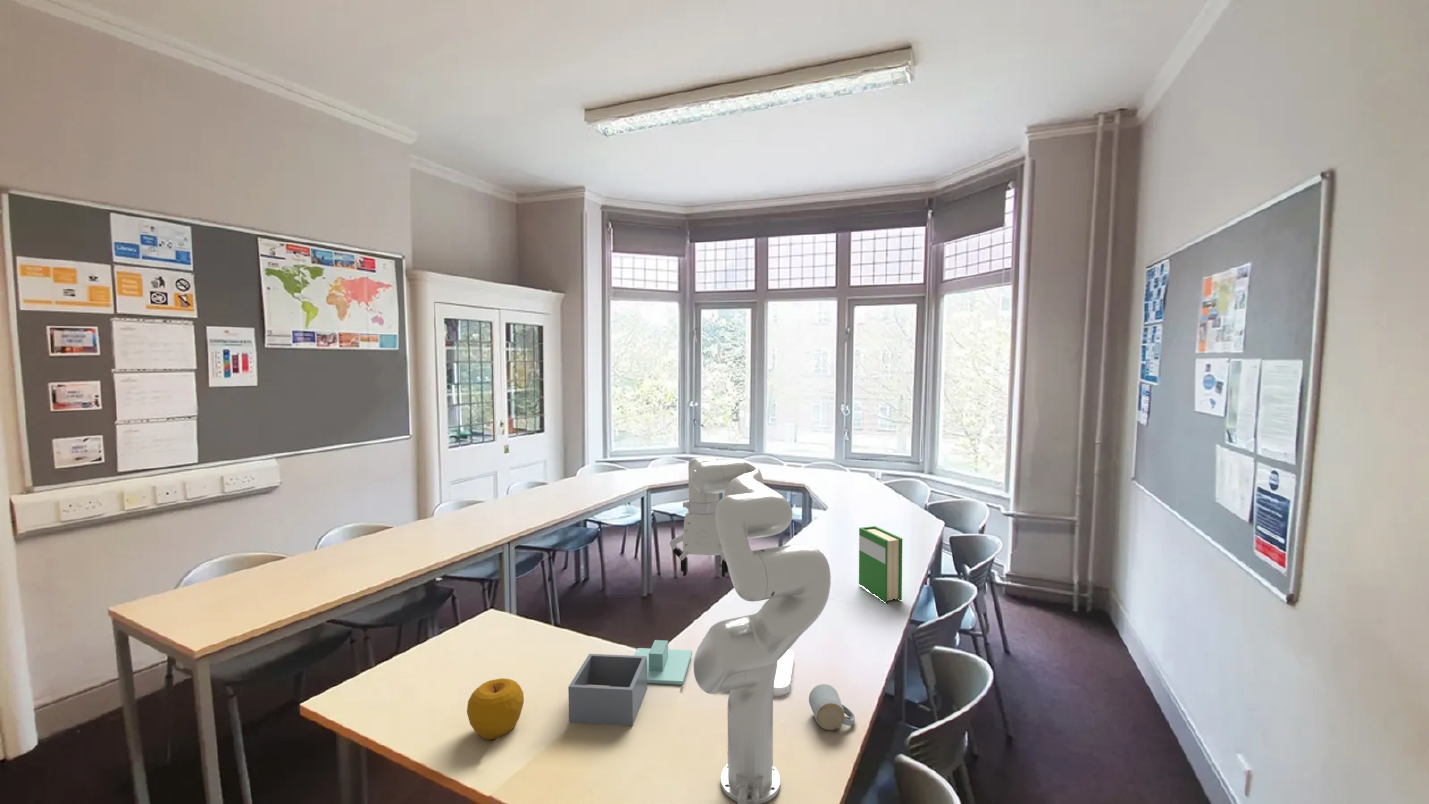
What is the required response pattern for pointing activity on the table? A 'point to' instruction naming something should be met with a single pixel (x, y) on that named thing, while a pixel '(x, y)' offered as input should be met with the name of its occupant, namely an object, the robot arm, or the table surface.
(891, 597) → the hardback book
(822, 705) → the ceramic mug
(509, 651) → the table surface
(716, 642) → the robot arm
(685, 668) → the lid
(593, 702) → the tub
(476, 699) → the apple
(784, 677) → the computer
